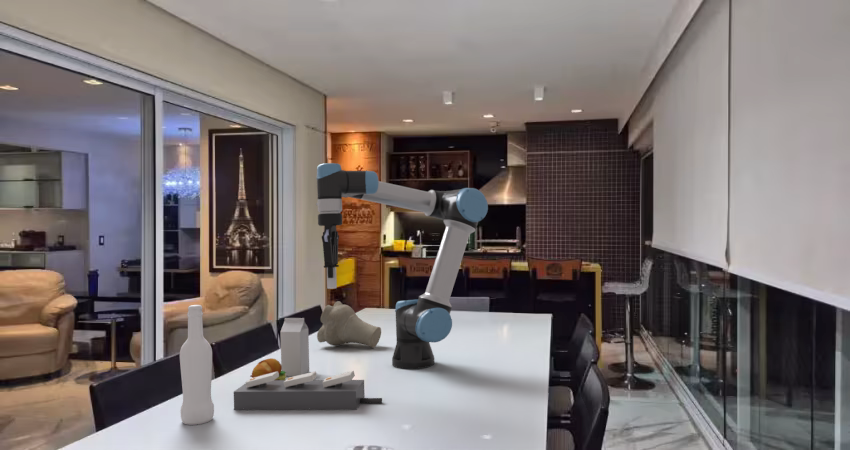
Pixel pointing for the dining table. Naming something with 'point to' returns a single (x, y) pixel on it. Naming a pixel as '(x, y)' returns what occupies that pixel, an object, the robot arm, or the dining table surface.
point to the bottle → (196, 372)
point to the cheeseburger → (268, 369)
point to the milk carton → (294, 347)
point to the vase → (346, 327)
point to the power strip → (302, 396)
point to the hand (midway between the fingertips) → (331, 288)
